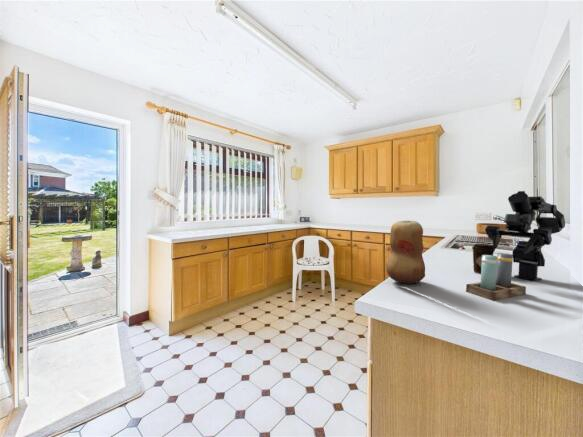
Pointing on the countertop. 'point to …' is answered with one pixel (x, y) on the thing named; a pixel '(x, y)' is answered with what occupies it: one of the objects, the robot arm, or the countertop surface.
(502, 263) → the plug charcoal
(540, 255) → the robot arm
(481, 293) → the slot rack
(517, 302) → the countertop surface
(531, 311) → the countertop surface
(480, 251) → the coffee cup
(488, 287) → the plug teal
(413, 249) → the butternut squash
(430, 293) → the countertop surface
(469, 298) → the countertop surface
